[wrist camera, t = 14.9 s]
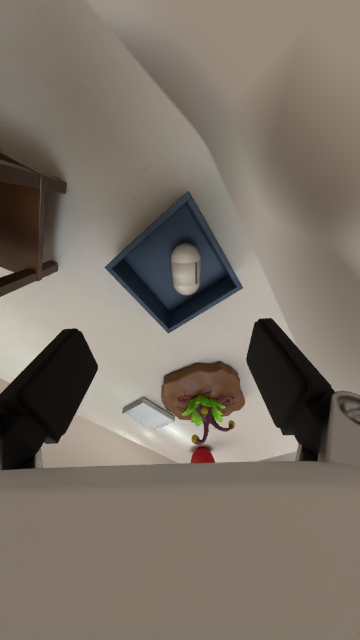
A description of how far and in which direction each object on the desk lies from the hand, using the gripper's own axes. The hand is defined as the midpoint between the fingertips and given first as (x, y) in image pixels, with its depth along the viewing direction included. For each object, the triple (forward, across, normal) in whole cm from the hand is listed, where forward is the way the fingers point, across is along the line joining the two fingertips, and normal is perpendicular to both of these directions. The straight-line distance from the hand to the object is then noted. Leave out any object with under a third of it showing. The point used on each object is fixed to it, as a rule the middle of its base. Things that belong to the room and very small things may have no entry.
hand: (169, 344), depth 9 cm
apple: (+17, -5, +67) cm, 69 cm away
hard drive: (+18, +10, +41) cm, 46 cm away
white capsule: (+17, 0, +1) cm, 17 cm away
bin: (+18, 0, +1) cm, 18 cm away
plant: (+18, -4, +32) cm, 37 cm away
